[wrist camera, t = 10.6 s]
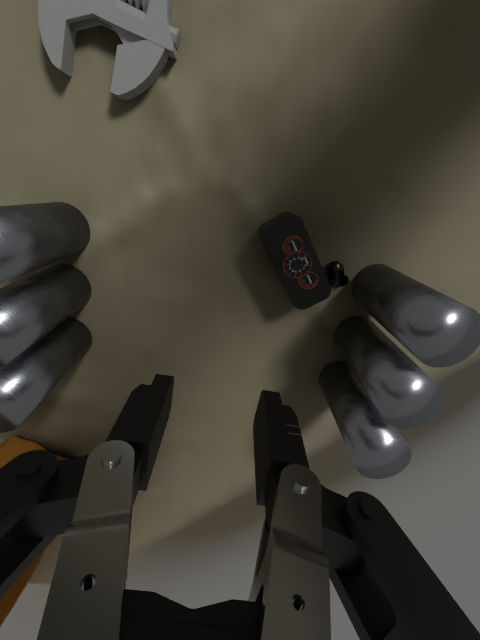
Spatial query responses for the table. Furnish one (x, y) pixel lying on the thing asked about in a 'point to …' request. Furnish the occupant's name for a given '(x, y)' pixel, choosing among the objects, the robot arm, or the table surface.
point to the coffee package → (5, 604)
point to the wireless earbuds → (299, 261)
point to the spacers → (335, 379)
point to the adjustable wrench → (131, 26)
